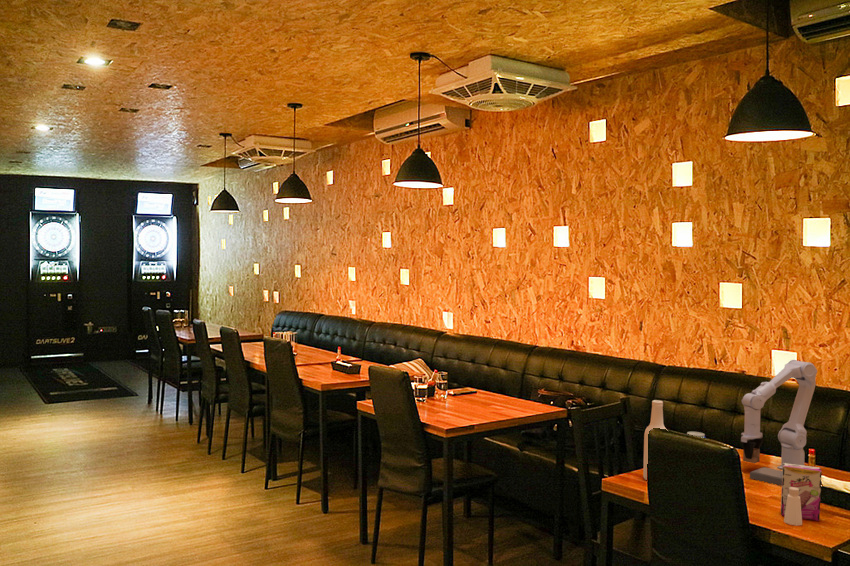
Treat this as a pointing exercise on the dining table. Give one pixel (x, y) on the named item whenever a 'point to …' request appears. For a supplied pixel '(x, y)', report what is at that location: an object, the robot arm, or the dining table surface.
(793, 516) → the salt shaker
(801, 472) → the candy bar box
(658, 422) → the alcohol
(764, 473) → the tray
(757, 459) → the block
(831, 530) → the dining table surface
